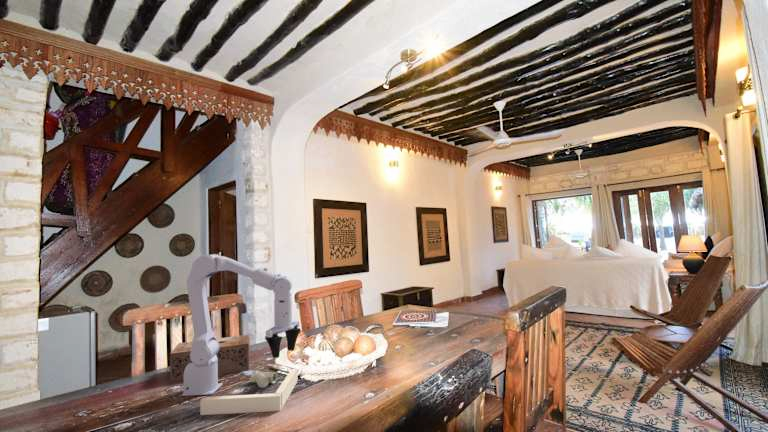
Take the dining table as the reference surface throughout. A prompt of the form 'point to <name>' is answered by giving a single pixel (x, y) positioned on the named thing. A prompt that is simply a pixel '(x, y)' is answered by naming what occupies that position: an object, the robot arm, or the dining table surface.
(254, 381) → the pipe fitting
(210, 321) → the robot arm
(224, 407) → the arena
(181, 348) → the tissue box cover
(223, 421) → the dining table surface
